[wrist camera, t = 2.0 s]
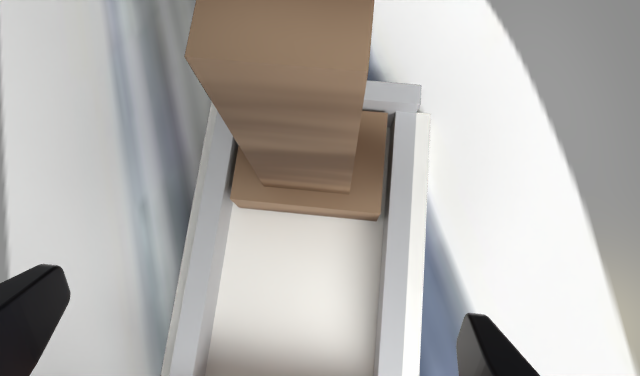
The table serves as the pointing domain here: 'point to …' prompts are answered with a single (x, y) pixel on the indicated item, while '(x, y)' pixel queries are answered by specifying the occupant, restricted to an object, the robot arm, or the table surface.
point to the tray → (305, 269)
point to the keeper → (294, 102)
